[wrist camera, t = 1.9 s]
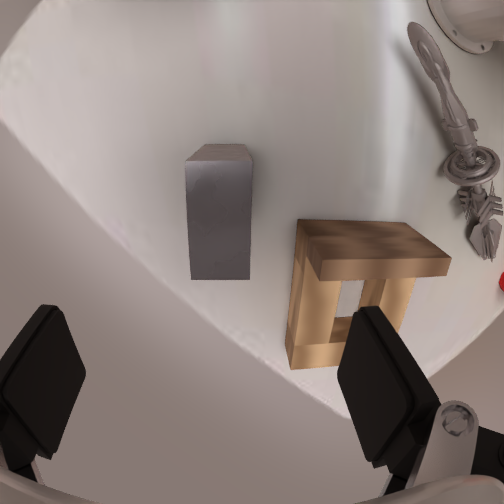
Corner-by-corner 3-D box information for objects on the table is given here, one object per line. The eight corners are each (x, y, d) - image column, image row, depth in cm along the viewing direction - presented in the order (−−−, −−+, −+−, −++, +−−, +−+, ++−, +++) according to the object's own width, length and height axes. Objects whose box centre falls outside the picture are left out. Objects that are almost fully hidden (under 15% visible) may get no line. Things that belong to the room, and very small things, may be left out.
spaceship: (451, 7, 16) (430, 23, 15) (516, 245, 32) (501, 285, 31) (396, 22, 23) (364, 42, 22) (477, 234, 39) (459, 270, 38)
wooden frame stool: (405, 222, 34) (451, 257, 25) (375, 336, 41) (401, 383, 32) (297, 219, 33) (322, 259, 24) (284, 344, 40) (297, 399, 31)
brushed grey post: (244, 144, 29) (252, 160, 17) (242, 218, 32) (249, 279, 21) (204, 144, 29) (185, 161, 17) (205, 218, 32) (191, 279, 20)
